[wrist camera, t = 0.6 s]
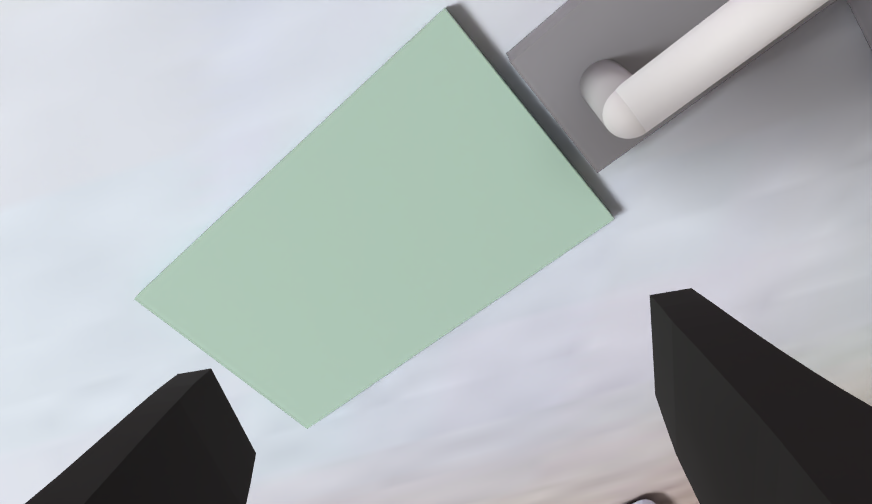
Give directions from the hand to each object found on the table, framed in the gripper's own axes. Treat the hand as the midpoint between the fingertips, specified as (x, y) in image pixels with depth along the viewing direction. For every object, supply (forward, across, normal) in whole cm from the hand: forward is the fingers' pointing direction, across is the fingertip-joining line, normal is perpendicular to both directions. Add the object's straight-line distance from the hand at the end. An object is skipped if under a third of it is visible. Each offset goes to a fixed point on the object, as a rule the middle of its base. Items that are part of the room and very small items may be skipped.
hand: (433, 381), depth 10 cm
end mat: (+9, +3, +2) cm, 10 cm away
